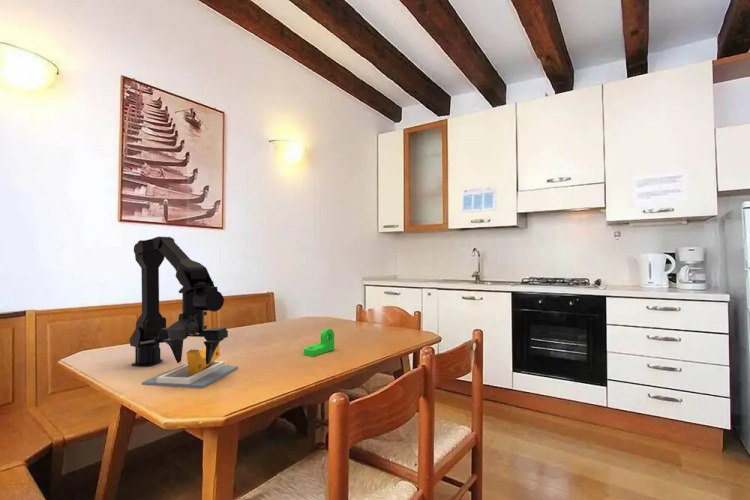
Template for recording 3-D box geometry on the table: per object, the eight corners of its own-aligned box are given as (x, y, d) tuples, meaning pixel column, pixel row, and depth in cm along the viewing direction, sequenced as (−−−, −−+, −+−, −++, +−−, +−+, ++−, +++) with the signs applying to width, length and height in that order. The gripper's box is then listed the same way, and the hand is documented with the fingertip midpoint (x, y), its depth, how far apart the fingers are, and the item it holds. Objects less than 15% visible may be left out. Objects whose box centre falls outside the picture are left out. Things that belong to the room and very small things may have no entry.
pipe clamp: (207, 355, 125) (205, 336, 124) (220, 356, 124) (218, 336, 123) (183, 373, 113) (181, 352, 112) (197, 373, 112) (194, 352, 111)
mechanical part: (321, 347, 148) (321, 326, 149) (334, 349, 145) (334, 327, 145) (300, 354, 138) (300, 331, 138) (313, 356, 135) (312, 333, 135)
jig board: (141, 385, 105) (142, 377, 105) (184, 366, 123) (184, 359, 123) (203, 388, 102) (203, 379, 102) (237, 368, 120) (237, 361, 120)
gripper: (143, 312, 106) (143, 370, 106) (206, 313, 103) (206, 372, 103) (171, 307, 117) (171, 359, 117) (228, 308, 114) (228, 361, 114)
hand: (193, 363), depth 112 cm, fingers open, 9 cm apart
